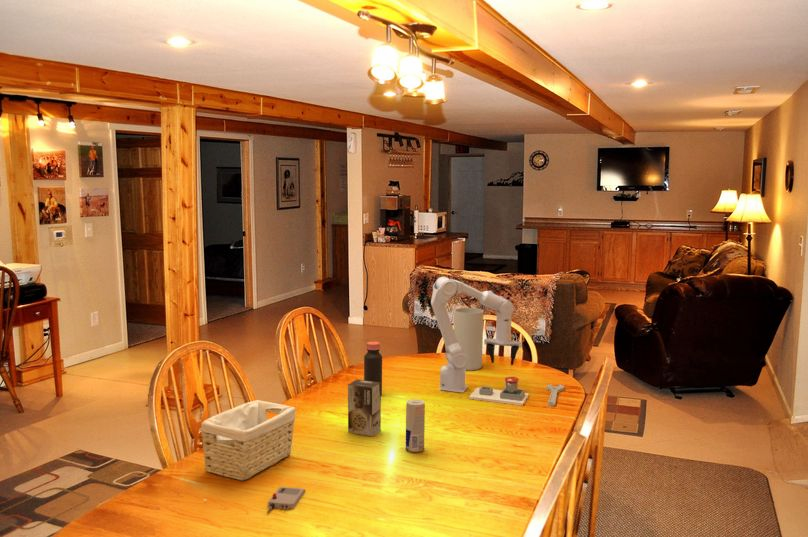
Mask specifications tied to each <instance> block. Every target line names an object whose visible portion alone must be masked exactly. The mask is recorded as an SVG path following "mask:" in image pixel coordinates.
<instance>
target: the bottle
mask: <svg viewBox="0 0 808 537" xmlns="http://www.w3.org/2000/svg"><path fill="white" fill-rule="evenodd" d="M380 350H381V342H379V341H368V342H366V351H367V352H366V353H365V355H363V380H366V381H373V382H380V383H381V396H382V395H383V355H382V354H381V353H380Z"/></svg>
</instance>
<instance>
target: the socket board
mask: <svg viewBox="0 0 808 537" xmlns="http://www.w3.org/2000/svg"><path fill="white" fill-rule="evenodd" d="M505 387H506V386H505ZM505 387H503V389H502V390H501V389H494V387H492V386H485V385H484V386H483V385H482V386H480V387H476V388H475V389H474V391H473V392H472V393H471V394H469V396H468V399H469V400H472V399H474V400H473V401H480V400H483V401H482V402H488V401H491V403H496V402H497V404H504V403H506V404H505V405H512V404H514V405H513V406H521V405H522V407H523V406H524V405H523V404H525V403H526V402H527V400H526V399H528V397H529V396H530V393H527V392H526V393H525V391H526V390H525V389H522V388H521V389H520V388H518V395H515V394H507V393H505Z"/></svg>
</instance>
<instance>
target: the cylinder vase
mask: <svg viewBox="0 0 808 537" xmlns="http://www.w3.org/2000/svg"><path fill="white" fill-rule="evenodd" d="M453 313H454V314H453V315H454V316H453V318H454V319H453V330H454V332H455V335H456V338H457V341H458V343H459V345H460V347H461V349H462V352H463V353H464V354H465V355H466V356H467V359H468V361H467V364H466V369H465V371H476V370H477V371H478V370H479V369H481V368H482V366H483V344H484V342H483V339H484V338H483V336H484V310H483V309H481V308H475V307H460V308H459V307H458V308H455V309H454V311H453Z"/></svg>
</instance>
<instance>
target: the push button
mask: <svg viewBox="0 0 808 537" xmlns="http://www.w3.org/2000/svg"><path fill="white" fill-rule="evenodd" d="M519 380H520V379H519V378H518V377H516V376H506V377H504V381H505V393H507V394H515V395H518V389H519Z"/></svg>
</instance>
